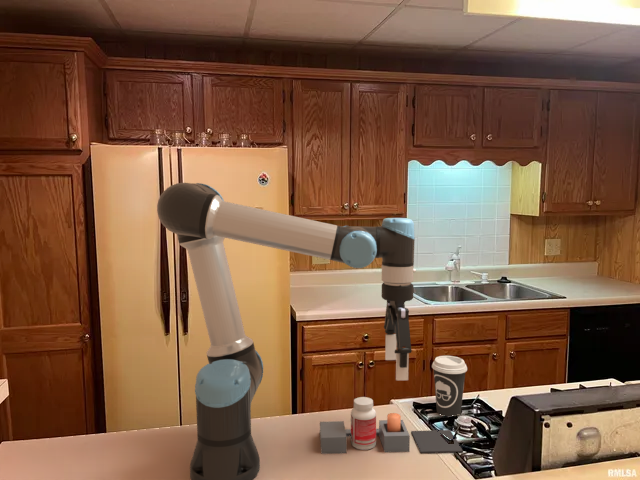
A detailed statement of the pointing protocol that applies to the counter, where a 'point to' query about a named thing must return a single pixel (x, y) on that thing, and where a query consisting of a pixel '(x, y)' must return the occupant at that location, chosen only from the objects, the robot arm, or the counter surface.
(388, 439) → the housing
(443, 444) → the mat
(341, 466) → the counter surface
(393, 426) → the plunger
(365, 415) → the pill bottle
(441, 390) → the coffee cup
